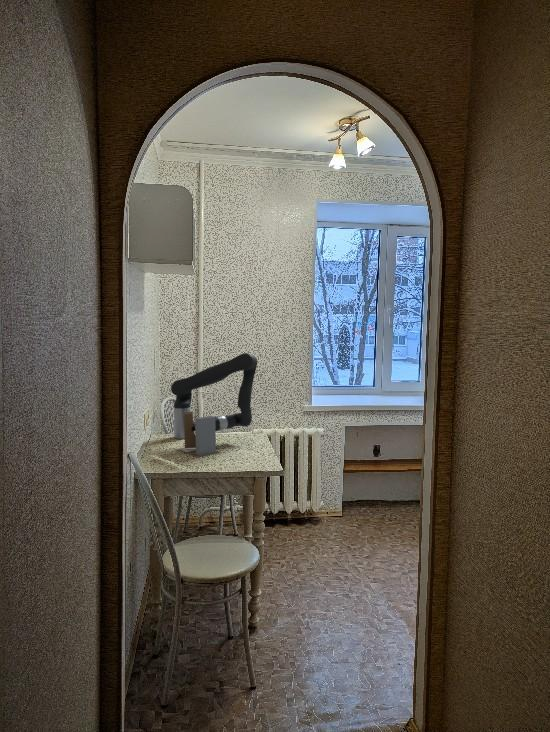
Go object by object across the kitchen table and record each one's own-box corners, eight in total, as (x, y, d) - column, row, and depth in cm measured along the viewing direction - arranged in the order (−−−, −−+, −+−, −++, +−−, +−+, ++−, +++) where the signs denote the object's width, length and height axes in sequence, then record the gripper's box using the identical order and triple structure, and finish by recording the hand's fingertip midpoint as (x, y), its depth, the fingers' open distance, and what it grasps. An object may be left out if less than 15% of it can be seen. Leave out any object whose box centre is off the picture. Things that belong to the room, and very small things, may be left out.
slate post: (195, 454, 283) (195, 418, 282) (211, 451, 289) (210, 415, 287) (200, 455, 280) (199, 419, 279) (215, 452, 286) (215, 417, 284)
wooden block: (202, 444, 297) (201, 410, 294) (203, 447, 292) (201, 413, 289) (184, 445, 295) (183, 411, 292) (185, 448, 291) (183, 414, 288)
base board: (175, 451, 294) (175, 448, 294) (199, 447, 303) (199, 444, 303) (197, 459, 277) (197, 456, 277) (222, 455, 286) (222, 452, 286)
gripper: (209, 414, 307) (181, 418, 297) (224, 418, 296) (195, 422, 285) (209, 428, 308) (181, 433, 297) (224, 432, 297) (196, 437, 286)
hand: (188, 428), depth 291 cm, fingers closed on wooden block, 5 cm apart
